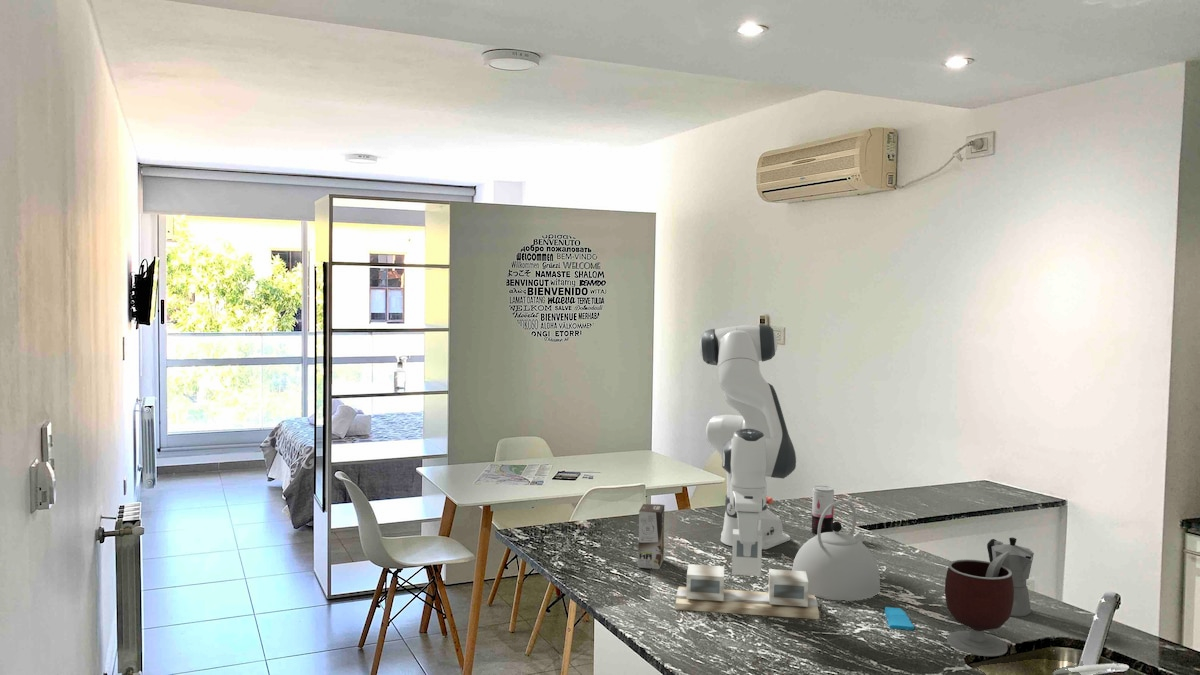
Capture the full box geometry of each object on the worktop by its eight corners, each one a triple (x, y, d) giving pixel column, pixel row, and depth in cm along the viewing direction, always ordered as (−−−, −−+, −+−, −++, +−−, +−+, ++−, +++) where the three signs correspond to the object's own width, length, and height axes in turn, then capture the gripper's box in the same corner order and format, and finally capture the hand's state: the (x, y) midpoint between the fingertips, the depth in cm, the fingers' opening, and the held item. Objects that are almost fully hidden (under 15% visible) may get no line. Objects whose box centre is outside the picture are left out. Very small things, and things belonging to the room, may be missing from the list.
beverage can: (837, 535, 275) (838, 488, 274) (823, 538, 271) (824, 491, 270) (821, 530, 280) (822, 484, 279) (807, 533, 276) (808, 487, 276)
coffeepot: (1045, 618, 207) (1049, 544, 206) (1011, 621, 205) (1014, 546, 204) (1002, 595, 222) (1005, 526, 221) (970, 598, 220) (972, 528, 219)
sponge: (909, 609, 210) (884, 604, 211) (916, 628, 198) (889, 622, 200) (908, 615, 210) (883, 610, 212) (914, 634, 199) (888, 629, 200)
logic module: (732, 568, 215) (732, 529, 215) (760, 570, 214) (761, 530, 214) (731, 574, 211) (732, 534, 210) (761, 576, 210) (762, 535, 209)
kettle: (825, 564, 246) (827, 486, 245) (900, 584, 230) (903, 501, 228) (774, 584, 229) (776, 500, 228) (850, 608, 212) (853, 517, 211)
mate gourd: (978, 662, 182) (982, 569, 181) (929, 637, 195) (932, 550, 193) (1031, 650, 188) (1035, 560, 187) (980, 627, 201) (983, 542, 200)
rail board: (675, 609, 210) (675, 576, 209) (678, 592, 222) (679, 561, 221) (819, 619, 205) (819, 585, 204) (814, 601, 216) (815, 569, 216)
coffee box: (660, 569, 239) (661, 512, 238) (637, 567, 241) (638, 510, 240) (664, 559, 248) (665, 504, 247) (642, 557, 250) (643, 502, 249)
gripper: (735, 486, 222) (734, 539, 223) (734, 505, 202) (733, 563, 203) (760, 487, 221) (758, 540, 222) (762, 507, 201) (761, 565, 202)
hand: (746, 551), depth 212 cm, fingers closed on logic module, 5 cm apart
